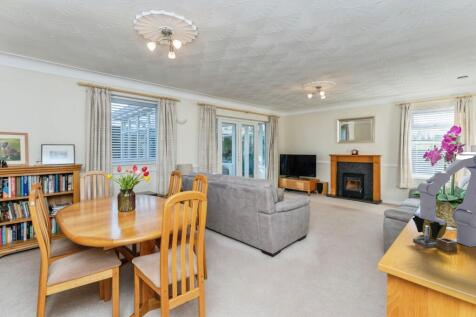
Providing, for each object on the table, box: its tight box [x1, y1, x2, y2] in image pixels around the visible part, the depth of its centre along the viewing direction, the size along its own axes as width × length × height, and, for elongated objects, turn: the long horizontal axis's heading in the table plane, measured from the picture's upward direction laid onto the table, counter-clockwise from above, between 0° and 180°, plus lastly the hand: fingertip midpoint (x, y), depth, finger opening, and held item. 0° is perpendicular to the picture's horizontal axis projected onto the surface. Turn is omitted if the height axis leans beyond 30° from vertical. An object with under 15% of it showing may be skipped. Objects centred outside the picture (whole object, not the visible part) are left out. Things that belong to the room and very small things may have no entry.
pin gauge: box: [423, 225, 431, 243], centre depth 110 cm, size 2×2×8 cm
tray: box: [412, 236, 436, 248], centre depth 110 cm, size 8×7×2 cm
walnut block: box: [435, 237, 458, 252], centre depth 104 cm, size 5×5×4 cm
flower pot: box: [421, 220, 448, 239], centre depth 119 cm, size 9×9×9 cm
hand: (427, 234), depth 110 cm, fingers open, 6 cm apart
